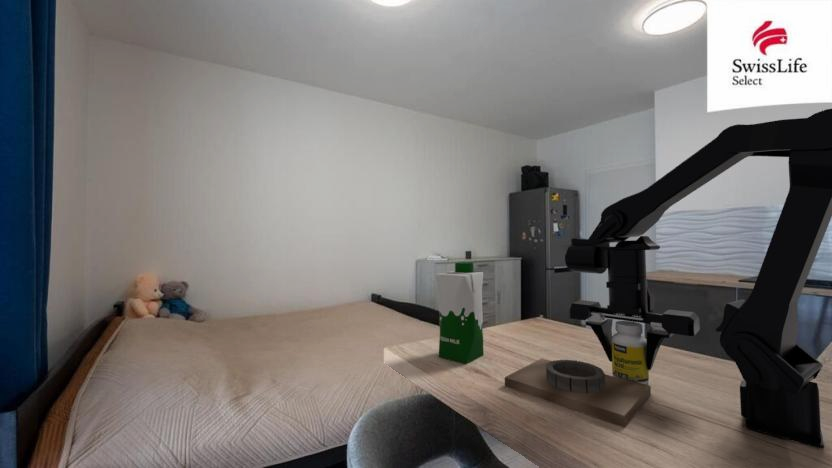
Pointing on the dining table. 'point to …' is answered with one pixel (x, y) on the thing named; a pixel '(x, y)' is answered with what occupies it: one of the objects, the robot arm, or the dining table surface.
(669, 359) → the dining table surface
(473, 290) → the milk carton
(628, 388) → the socket board
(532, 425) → the dining table surface
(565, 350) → the dining table surface
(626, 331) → the supplement bottle
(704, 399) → the dining table surface
